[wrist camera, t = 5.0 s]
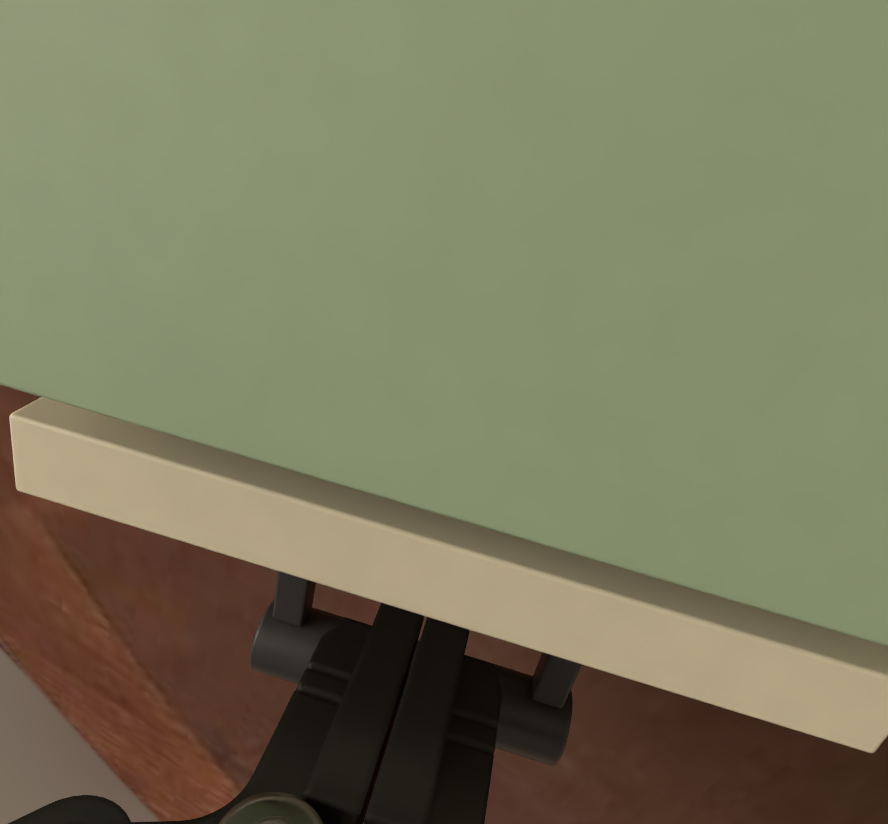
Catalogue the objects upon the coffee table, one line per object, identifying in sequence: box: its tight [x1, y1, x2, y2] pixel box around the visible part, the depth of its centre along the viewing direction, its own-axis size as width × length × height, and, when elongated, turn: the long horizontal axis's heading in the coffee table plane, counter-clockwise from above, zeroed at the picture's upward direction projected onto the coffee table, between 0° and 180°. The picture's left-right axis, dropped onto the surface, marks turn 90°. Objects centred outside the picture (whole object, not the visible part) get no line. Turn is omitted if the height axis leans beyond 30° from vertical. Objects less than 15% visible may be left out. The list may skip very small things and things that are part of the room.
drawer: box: [9, 397, 888, 766], centre depth 10 cm, size 18×11×7 cm, turn 168°
